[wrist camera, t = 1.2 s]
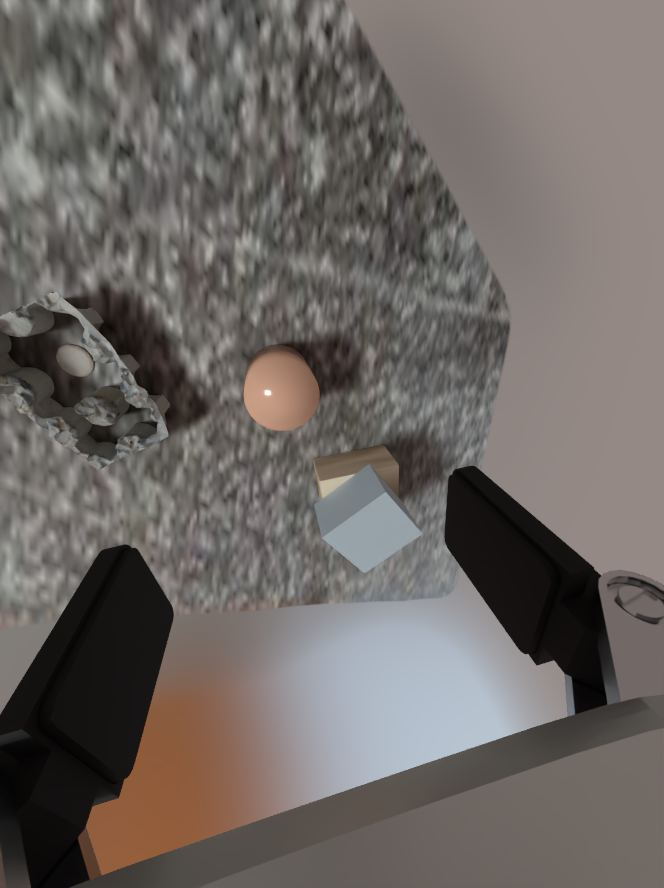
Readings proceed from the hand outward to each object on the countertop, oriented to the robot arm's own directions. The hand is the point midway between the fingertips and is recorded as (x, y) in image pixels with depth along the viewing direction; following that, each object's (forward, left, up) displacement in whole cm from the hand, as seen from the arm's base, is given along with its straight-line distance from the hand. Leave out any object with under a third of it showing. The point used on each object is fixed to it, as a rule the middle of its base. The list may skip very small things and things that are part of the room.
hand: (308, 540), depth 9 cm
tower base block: (+12, +5, -18) cm, 22 cm away
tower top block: (+11, +5, -14) cm, 19 cm away
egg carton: (-2, -13, -18) cm, 23 cm away
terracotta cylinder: (0, 0, -18) cm, 18 cm away
